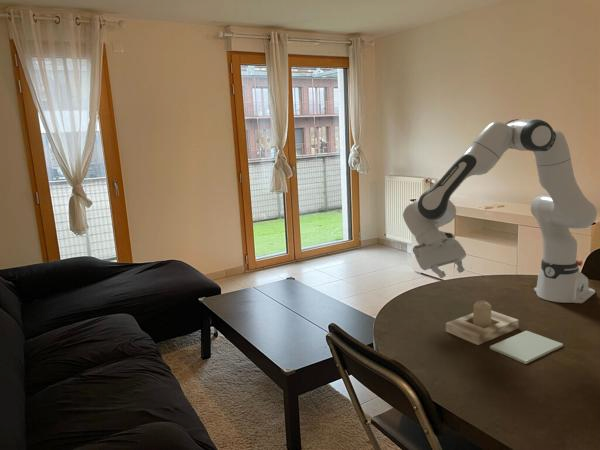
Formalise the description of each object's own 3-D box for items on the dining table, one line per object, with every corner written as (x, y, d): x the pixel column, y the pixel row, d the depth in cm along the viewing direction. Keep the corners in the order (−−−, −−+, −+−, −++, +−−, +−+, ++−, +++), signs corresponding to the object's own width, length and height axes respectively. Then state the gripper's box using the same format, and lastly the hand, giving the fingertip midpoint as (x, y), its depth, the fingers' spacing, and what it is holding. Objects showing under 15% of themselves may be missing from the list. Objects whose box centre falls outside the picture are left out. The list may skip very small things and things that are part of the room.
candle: (492, 333, 152) (492, 304, 150) (474, 333, 153) (474, 304, 151) (489, 326, 157) (489, 298, 155) (471, 326, 158) (472, 298, 156)
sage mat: (526, 332, 151) (526, 330, 151) (562, 346, 141) (563, 343, 141) (489, 348, 142) (489, 346, 142) (525, 364, 132) (525, 361, 132)
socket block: (485, 316, 165) (485, 308, 165) (518, 328, 154) (518, 319, 154) (445, 331, 156) (445, 322, 155) (477, 345, 145) (477, 336, 144)
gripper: (415, 241, 161) (436, 275, 155) (456, 232, 171) (477, 264, 165) (406, 251, 166) (426, 285, 159) (446, 242, 176) (467, 273, 169)
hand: (452, 274), depth 162 cm, fingers open, 8 cm apart
